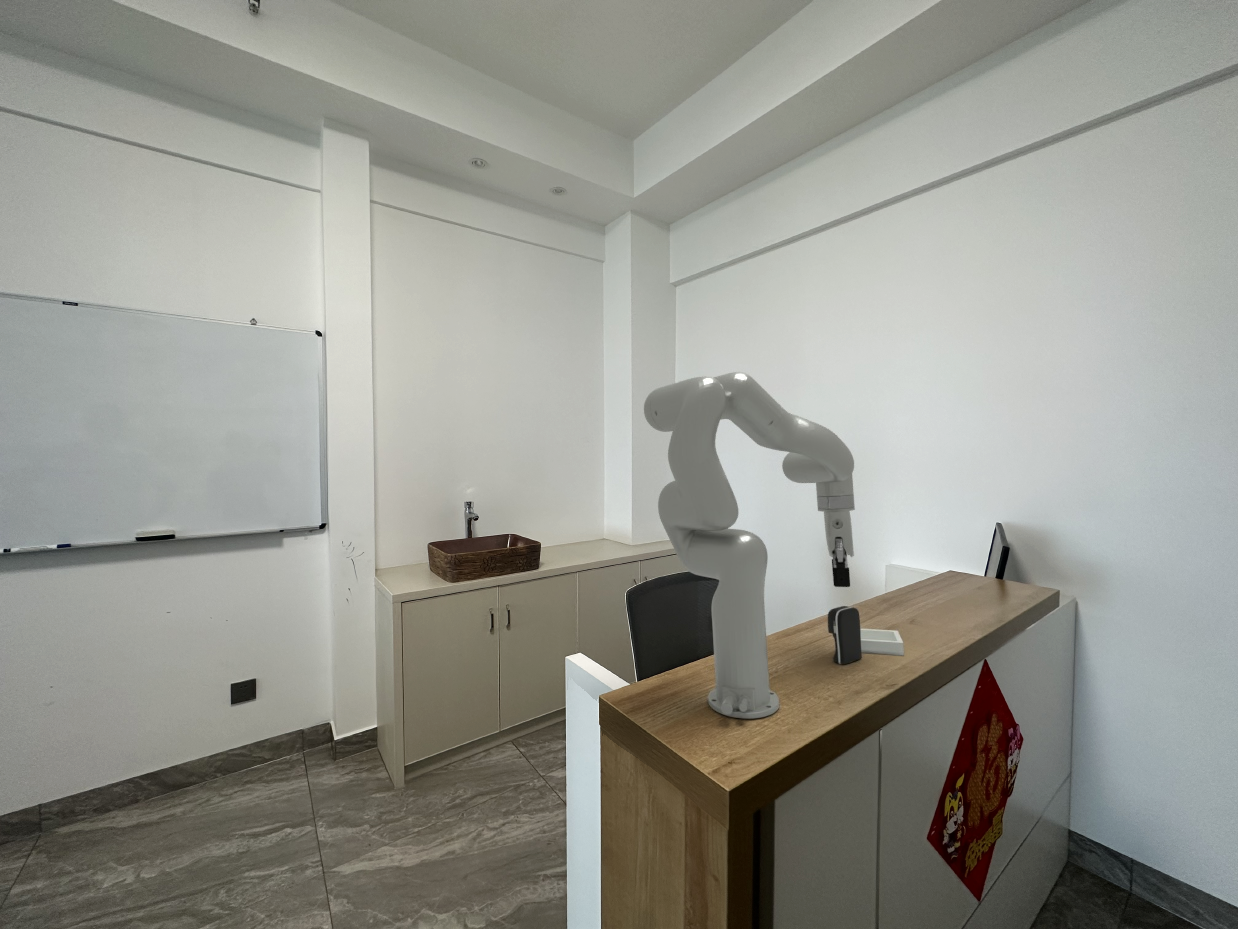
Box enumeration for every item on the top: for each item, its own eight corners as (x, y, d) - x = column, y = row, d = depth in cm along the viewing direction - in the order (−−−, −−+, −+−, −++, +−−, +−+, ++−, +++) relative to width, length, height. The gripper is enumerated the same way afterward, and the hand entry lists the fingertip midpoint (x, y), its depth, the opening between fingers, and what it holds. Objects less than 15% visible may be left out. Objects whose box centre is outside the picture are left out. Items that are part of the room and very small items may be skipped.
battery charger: (847, 654, 114) (844, 603, 115) (863, 659, 111) (859, 606, 111) (827, 661, 111) (824, 608, 111) (842, 666, 108) (839, 612, 108)
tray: (904, 655, 112) (903, 642, 112) (844, 651, 116) (843, 639, 116) (898, 642, 120) (897, 630, 120) (843, 639, 124) (842, 627, 125)
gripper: (856, 506, 103) (863, 591, 102) (852, 500, 119) (857, 573, 118) (816, 507, 105) (822, 590, 105) (817, 501, 121) (822, 573, 121)
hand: (841, 581), depth 112 cm, fingers open, 9 cm apart
